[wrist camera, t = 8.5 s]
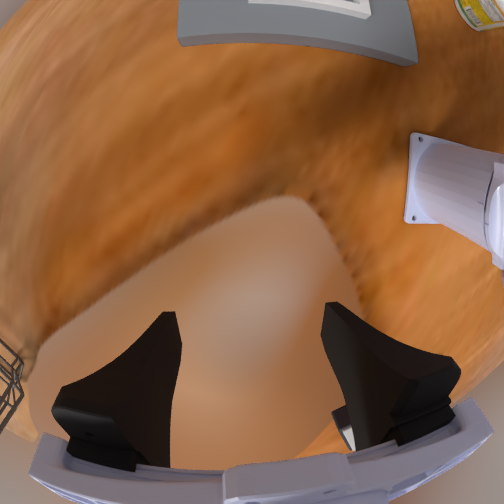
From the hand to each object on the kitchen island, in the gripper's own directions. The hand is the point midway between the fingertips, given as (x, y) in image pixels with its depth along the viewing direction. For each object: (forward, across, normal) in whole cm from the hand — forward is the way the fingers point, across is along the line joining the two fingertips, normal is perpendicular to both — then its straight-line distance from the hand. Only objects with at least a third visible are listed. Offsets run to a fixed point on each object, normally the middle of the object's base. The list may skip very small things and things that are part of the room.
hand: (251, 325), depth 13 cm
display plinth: (+9, -5, -23) cm, 25 cm away
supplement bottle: (+10, -26, -28) cm, 39 cm away
